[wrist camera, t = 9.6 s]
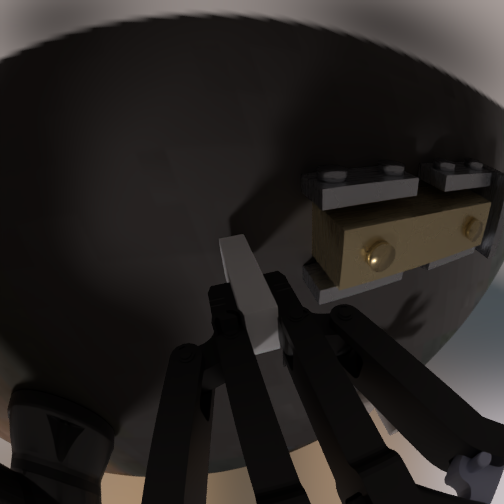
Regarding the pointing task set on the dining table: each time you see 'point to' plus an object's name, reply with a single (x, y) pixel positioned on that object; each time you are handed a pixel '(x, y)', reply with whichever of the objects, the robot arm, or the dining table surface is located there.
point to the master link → (396, 234)
